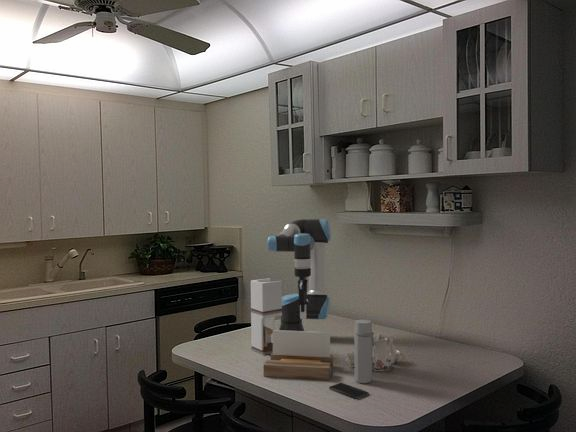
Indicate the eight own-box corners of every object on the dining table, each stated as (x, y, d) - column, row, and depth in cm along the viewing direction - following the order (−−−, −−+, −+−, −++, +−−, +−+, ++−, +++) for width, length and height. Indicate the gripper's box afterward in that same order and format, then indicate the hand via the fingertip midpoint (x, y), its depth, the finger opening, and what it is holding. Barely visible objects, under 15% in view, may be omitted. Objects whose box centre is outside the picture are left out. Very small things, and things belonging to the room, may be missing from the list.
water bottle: (358, 385, 208) (358, 324, 207) (351, 378, 216) (351, 319, 215) (379, 382, 211) (379, 322, 210) (371, 376, 218) (371, 318, 217)
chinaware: (394, 361, 243) (392, 326, 244) (415, 368, 227) (413, 330, 228) (341, 369, 233) (339, 332, 234) (359, 377, 217) (357, 337, 218)
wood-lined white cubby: (263, 355, 249) (262, 283, 248) (251, 349, 258) (250, 280, 256) (282, 350, 256) (281, 280, 255) (270, 345, 264) (269, 278, 263)
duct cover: (272, 354, 233) (273, 354, 234) (329, 357, 228) (330, 356, 229) (272, 330, 233) (273, 330, 234) (329, 332, 228) (330, 332, 229)
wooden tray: (272, 362, 237) (272, 352, 237) (333, 366, 232) (333, 355, 232) (263, 376, 220) (263, 364, 219) (328, 380, 214) (328, 368, 214)
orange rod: (280, 365, 232) (280, 358, 233) (322, 367, 229) (322, 360, 229) (278, 365, 229) (279, 358, 230) (321, 367, 226) (321, 360, 226)
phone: (356, 398, 193) (327, 387, 205) (356, 401, 193) (327, 389, 205) (370, 392, 198) (341, 382, 210) (370, 395, 199) (341, 385, 210)
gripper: (296, 265, 243) (297, 314, 244) (292, 269, 230) (292, 321, 231) (312, 265, 241) (313, 314, 243) (308, 270, 228) (309, 322, 230)
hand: (303, 318), depth 237 cm, fingers closed
